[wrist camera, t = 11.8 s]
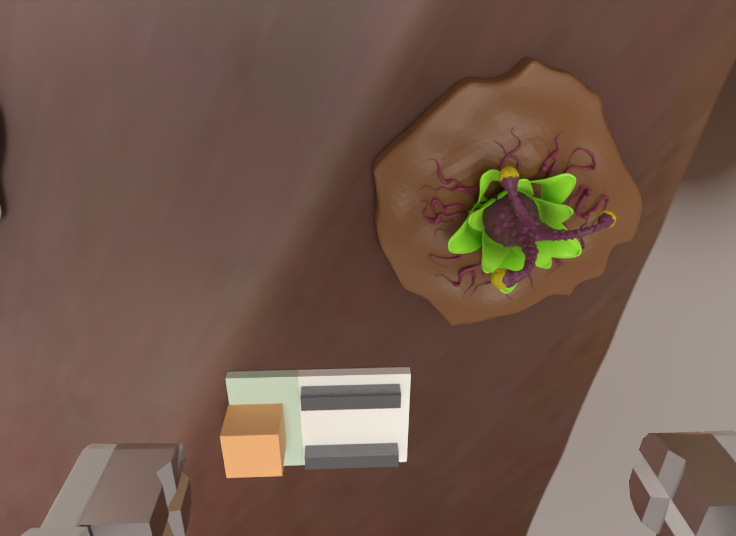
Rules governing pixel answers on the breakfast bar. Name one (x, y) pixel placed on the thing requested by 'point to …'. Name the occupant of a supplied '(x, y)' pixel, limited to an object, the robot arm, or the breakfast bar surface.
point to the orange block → (253, 440)
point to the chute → (334, 413)
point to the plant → (504, 194)
